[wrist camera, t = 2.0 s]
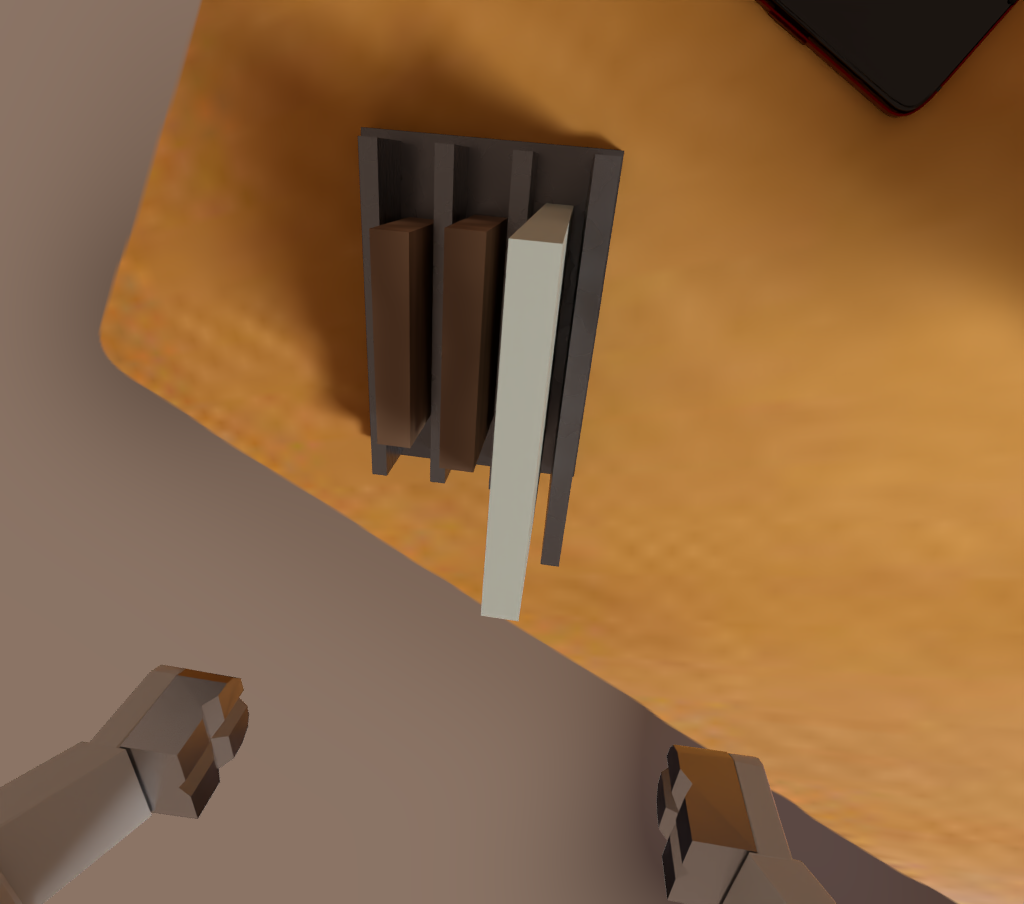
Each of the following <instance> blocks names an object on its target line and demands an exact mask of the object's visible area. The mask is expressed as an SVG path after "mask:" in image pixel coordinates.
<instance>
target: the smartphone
mask: <svg viewBox="0 0 1024 904" xmlns="http://www.w3.org/2000/svg"><path fill="white" fill-rule="evenodd" d="M755 1H756V2H757V3H759V4H760V5H761V6H762V7H763V8H764V9H765V10H767V11H768V12H769V13H768V14H769V16H770V17H772V18H773V19H774V20H775V21H776V22H777V23H778V24H780V25H781V26H782V27H783V28H784V29H785V30H786V31H788V32H789V33H790V34H791V35H792V36H793V37H795V38H796V39H797V40H798V41H799V42H800V43H801V44H803V45H807V46H808V47H809V48H810V49H811V50H812V51H813V52H814V53H816V54H817V55H818V56H819V57H820V58H821V59H822V60H824V61H825V62H826V63H827V64H828V65H829V66H830V67H832V68H833V69H834V70H835V71H836V72H837V73H838V74H840V75H841V76H842V77H843V78H844V79H845V80H846V81H848V82H849V83H850V84H851V85H852V86H853V87H854V88H856V89H857V90H858V91H859V92H860V93H861V94H862V95H864V96H865V97H866V98H867V99H868V100H869V101H870V102H872V103H873V104H874V105H875V106H876V107H877V108H878V109H880V110H881V111H882V112H883V113H885V114H886V115H888V116H891V117H903V116H907V115H910V114H912V113H914V112H916V111H918V110H919V109H920V108H922V107H923V106H924V105H925V104H926V103H927V102H928V101H930V100H931V99H932V98H933V96H934V95H935V94H936V93H937V92H938V91H939V90H940V89H941V88H942V87H943V85H944V84H945V83H946V82H947V81H948V80H949V79H950V78H951V76H952V75H953V74H954V73H955V72H956V71H957V70H958V69H959V67H960V66H961V65H962V64H963V63H964V62H965V61H966V59H967V58H968V57H969V56H970V55H971V54H972V53H973V52H974V50H975V49H976V48H977V47H978V46H979V45H980V44H981V43H982V41H983V40H984V39H985V38H986V37H987V36H988V35H989V34H990V32H991V31H992V30H993V29H994V28H995V27H996V26H997V24H998V23H999V22H1000V21H1001V20H1002V19H1003V18H1004V17H1005V15H1006V14H1007V13H1008V12H1009V11H1010V10H1011V9H1012V7H1013V6H1014V5H1015V4H1016V3H1017V2H1018V1H1019V0H755ZM904 112H906V113H904ZM898 113H904V114H898Z"/></svg>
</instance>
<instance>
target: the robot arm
mask: <svg viewBox="0 0 1024 904" xmlns="http://www.w3.org/2000/svg"><path fill="white" fill-rule="evenodd" d="M243 691H244V689H243V685H242V682H241V678H236V677H231V676H224V675H219V674H213V673H207V672H202V671H196V670H190V669H186V668H179V667H173V666H166V665H160V666H158V667H157V668H155V669H154V670H152V671H151V672H150V673H149V674H148V675H147V676H146V677H145V679H144V680H143V681H142V682H141V683H140V684H139V686H138V687H137V688H136V689H135V690H134V691H133V692H132V694H131V695H130V696H129V697H128V698H127V699H126V701H125V702H124V703H123V704H122V705H121V706H120V708H119V709H118V710H117V711H116V712H115V713H114V715H113V716H112V717H111V718H110V719H109V720H108V721H107V723H106V724H105V725H104V726H103V727H102V729H101V730H100V731H99V732H98V733H97V734H96V736H95V737H94V738H93V739H92V740H91V741H90V742H89V743H88V742H80V743H78V744H76V745H75V746H73V747H71V748H69V749H67V750H66V751H64V752H62V753H60V754H59V755H57V756H55V757H53V758H51V759H50V760H48V761H46V762H45V763H43V764H41V765H39V766H37V767H36V768H34V769H32V770H30V771H28V772H27V773H25V774H23V775H21V776H20V777H18V778H16V779H14V780H13V781H11V782H9V783H7V784H5V785H4V786H2V787H0V904H43V903H45V902H46V901H47V900H48V899H49V898H51V897H52V896H53V895H54V894H56V893H57V892H58V891H59V890H61V889H62V888H63V887H64V886H65V885H67V884H68V883H69V882H70V881H72V880H73V879H74V878H75V877H77V876H78V875H79V874H80V873H81V872H83V871H84V870H85V869H86V868H88V867H89V866H90V865H91V864H92V863H94V862H95V861H96V860H97V859H99V858H100V857H101V856H102V855H104V854H105V853H106V852H107V851H109V850H110V849H111V848H112V847H114V846H115V845H116V844H117V843H118V842H120V841H121V840H122V839H123V838H124V837H126V836H127V835H128V834H130V833H131V832H132V831H133V830H134V829H136V828H137V827H138V826H139V825H141V824H142V823H143V822H144V821H146V820H147V819H148V818H149V817H151V815H152V814H151V812H152V813H159V814H166V815H174V816H180V817H188V818H195V819H198V818H199V816H200V814H201V813H202V811H203V809H204V808H205V806H206V804H207V803H208V801H209V799H210V798H211V796H212V794H213V793H214V791H215V789H216V787H217V786H218V784H219V783H220V777H219V768H220V767H222V766H223V765H225V764H226V763H227V762H229V761H230V760H232V759H233V758H234V757H235V755H236V753H237V752H238V750H239V748H240V746H241V744H242V743H243V740H244V737H245V734H246V731H247V728H248V720H249V712H248V707H247V705H246V704H245V703H244V702H243V701H242V700H241V699H240V698H239V697H240V695H241V694H242V692H243ZM667 762H668V768H667V769H665V770H664V771H662V772H661V775H660V778H659V782H658V789H657V818H658V827H659V829H660V831H661V832H662V834H663V835H664V837H665V838H666V840H667V844H666V846H665V849H664V852H663V854H662V861H663V869H664V878H665V885H666V894H667V900H669V901H674V902H679V903H685V904H837V903H836V902H835V901H834V900H833V898H831V896H830V895H829V894H828V892H827V891H826V890H825V889H824V888H823V886H822V885H821V884H820V883H819V882H818V880H817V879H816V878H815V877H814V876H813V875H812V873H811V872H810V871H809V870H808V868H807V867H806V866H805V865H804V864H803V862H802V861H798V860H793V859H792V856H791V853H790V850H789V847H788V843H787V840H786V837H785V834H784V831H783V828H782V824H781V821H780V818H779V815H778V811H777V808H776V805H775V802H774V798H773V795H772V792H771V789H770V786H769V782H768V779H767V776H766V773H765V769H764V766H763V764H762V763H761V761H760V760H759V758H756V757H753V756H745V755H737V754H730V753H727V752H723V751H716V750H709V749H702V748H694V747H687V746H680V745H672V746H671V747H670V749H669V752H668V754H667Z"/></svg>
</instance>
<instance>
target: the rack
mask: <svg viewBox="0 0 1024 904" xmlns="http://www.w3.org/2000/svg"><path fill="white" fill-rule="evenodd" d="M358 151H359V174H360V197H361V220H362V243H363V266H364V289H365V312H366V335H367V358H368V380H369V403H370V426H371V449H372V472H373V474H378V475H385V476H387V475H388V473H389V472H390V470H391V469H392V467H393V465H394V464H395V462H396V461H397V459H398V458H399V456H400V455H408V456H416V457H424V458H431V462H430V481H431V482H438V483H445V482H446V479H447V477H448V475H449V473H450V470H451V469H443V468H439V453H440V407H441V362H442V316H443V270H444V228H445V227H447V226H449V225H452V224H454V223H456V222H459V221H461V220H463V219H466V218H468V217H470V216H472V215H484V216H494V217H504V218H508V222H507V236H506V249H505V263H504V277H503V291H502V305H501V319H500V333H499V347H498V361H497V375H496V389H495V403H494V417H493V420H492V422H491V425H490V428H489V431H488V433H487V436H486V439H485V441H484V444H483V447H482V450H481V452H480V455H479V458H478V461H477V463H476V464H478V465H486V466H490V478H489V489H490V485H491V472H492V458H493V444H494V431H495V417H496V404H497V390H498V376H499V363H500V349H501V336H502V322H503V308H504V295H505V281H506V268H507V254H508V240H509V238H510V237H511V236H512V235H513V234H514V233H515V232H516V231H517V230H518V229H519V228H520V227H521V226H522V225H524V224H525V223H526V222H527V221H528V220H529V219H530V218H531V217H532V216H533V215H534V214H535V213H536V212H537V211H538V210H540V209H541V208H542V207H543V206H544V205H545V204H546V203H551V204H561V205H572V206H574V208H573V216H572V224H571V232H570V240H569V248H568V257H567V265H566V273H565V281H564V289H563V297H562V306H561V314H560V322H559V330H558V338H557V346H556V355H555V363H554V371H553V379H552V387H551V395H550V404H549V412H548V420H547V428H546V436H545V443H544V450H543V457H542V463H541V470H540V473H547V474H551V475H550V484H549V493H548V502H547V511H546V520H545V529H544V538H543V547H542V556H541V564H544V565H551V566H558V567H559V560H560V554H561V547H562V541H563V534H564V528H565V521H566V515H567V508H568V502H569V495H570V489H571V482H572V477H574V471H575V465H576V458H577V452H578V445H579V439H580V432H581V426H582V420H583V413H584V407H585V400H586V394H587V387H588V381H589V374H590V368H591V362H592V355H593V349H594V342H595V336H596V329H597V323H598V317H599V310H600V304H601V297H602V291H603V284H604V278H605V271H606V265H607V259H608V252H609V246H610V239H611V233H612V226H613V220H614V213H615V207H616V201H617V194H618V188H619V181H620V175H621V168H622V162H623V155H624V151H621V150H610V149H599V148H588V147H576V146H565V145H554V144H543V143H532V142H521V141H510V140H498V139H487V138H476V137H465V136H454V135H443V134H431V133H420V132H409V131H398V130H387V129H376V128H364V127H361V136H358ZM408 217H414V218H424V219H434V237H433V312H432V387H431V416H430V417H429V419H428V420H427V422H426V424H425V425H424V427H423V428H422V430H421V432H420V433H419V435H418V436H417V438H416V440H415V441H414V443H413V445H412V446H411V448H405V447H397V446H389V445H381V444H377V420H376V394H375V367H374V341H373V314H372V288H371V261H370V235H369V228H373V227H376V226H380V225H383V224H387V223H390V222H394V221H397V220H401V219H404V218H408Z"/></svg>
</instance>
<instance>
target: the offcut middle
mask: <svg viewBox="0 0 1024 904" xmlns="http://www.w3.org/2000/svg"><path fill="white" fill-rule="evenodd" d="M507 222H508V218H504V217H494V216H484V215H472V216H470V217H468V218H466V219H463V220H461V221H459V222H456V223H454V224H452V225H449V226H447V227H445V228H444V270H443V316H442V362H441V407H440V453H439V468H443V469H451V470H459V471H466V472H474V469H475V466H476V463H477V461H478V458H479V455H480V452H481V450H482V447H483V444H484V441H485V439H486V436H487V433H488V431H489V428H490V425H491V422H492V420H493V417H494V403H495V389H496V375H497V361H498V347H499V333H500V319H501V305H502V291H503V277H504V263H505V249H506V236H507Z"/></svg>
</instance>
